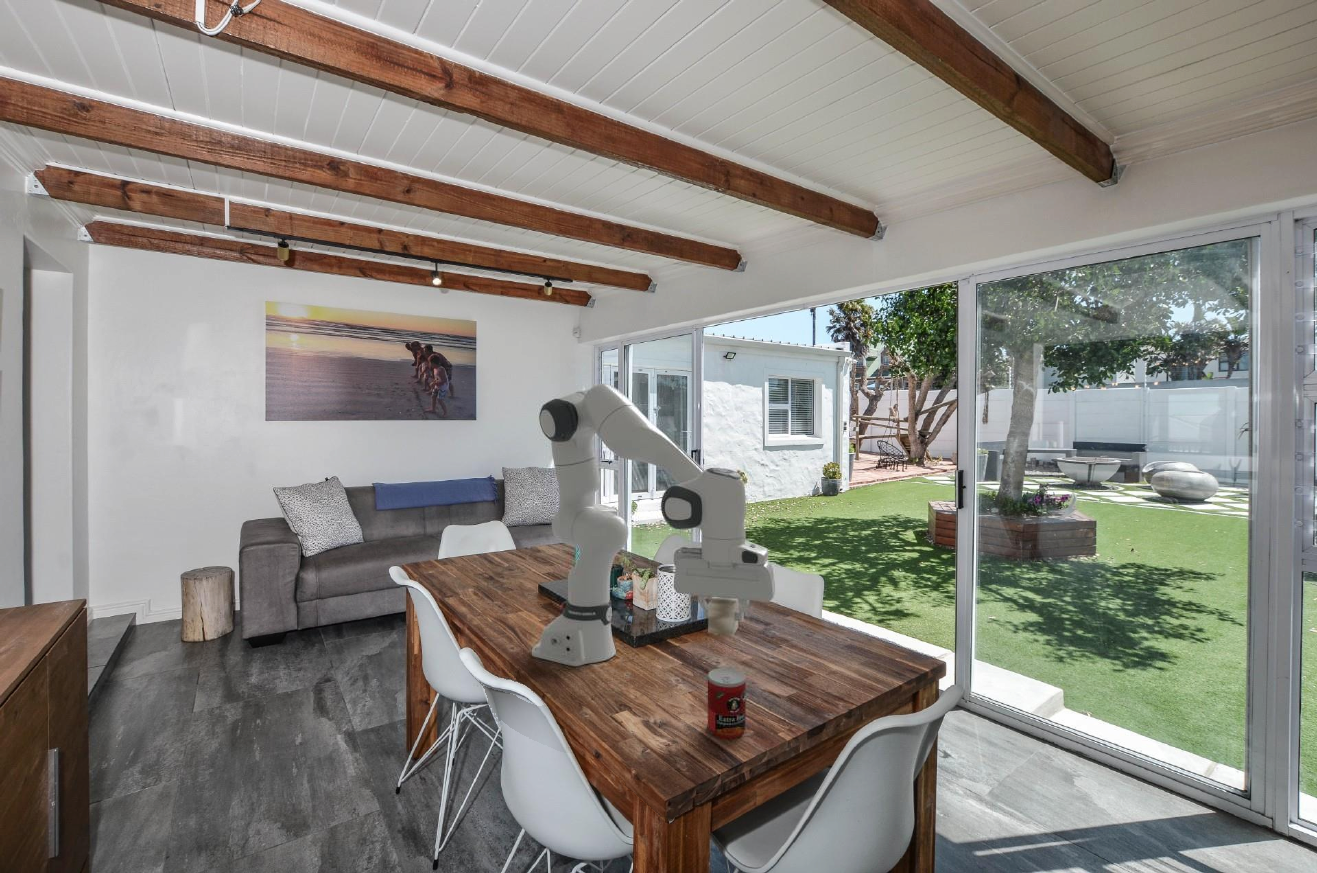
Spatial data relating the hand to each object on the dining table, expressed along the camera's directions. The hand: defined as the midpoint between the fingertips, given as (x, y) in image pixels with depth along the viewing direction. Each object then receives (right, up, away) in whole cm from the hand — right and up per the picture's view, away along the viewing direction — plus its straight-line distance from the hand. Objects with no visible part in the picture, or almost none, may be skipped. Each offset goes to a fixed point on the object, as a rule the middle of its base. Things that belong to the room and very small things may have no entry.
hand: (723, 618), depth 119 cm
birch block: (0, -2, 0) cm, 2 cm away
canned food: (+1, -23, +1) cm, 23 cm away
